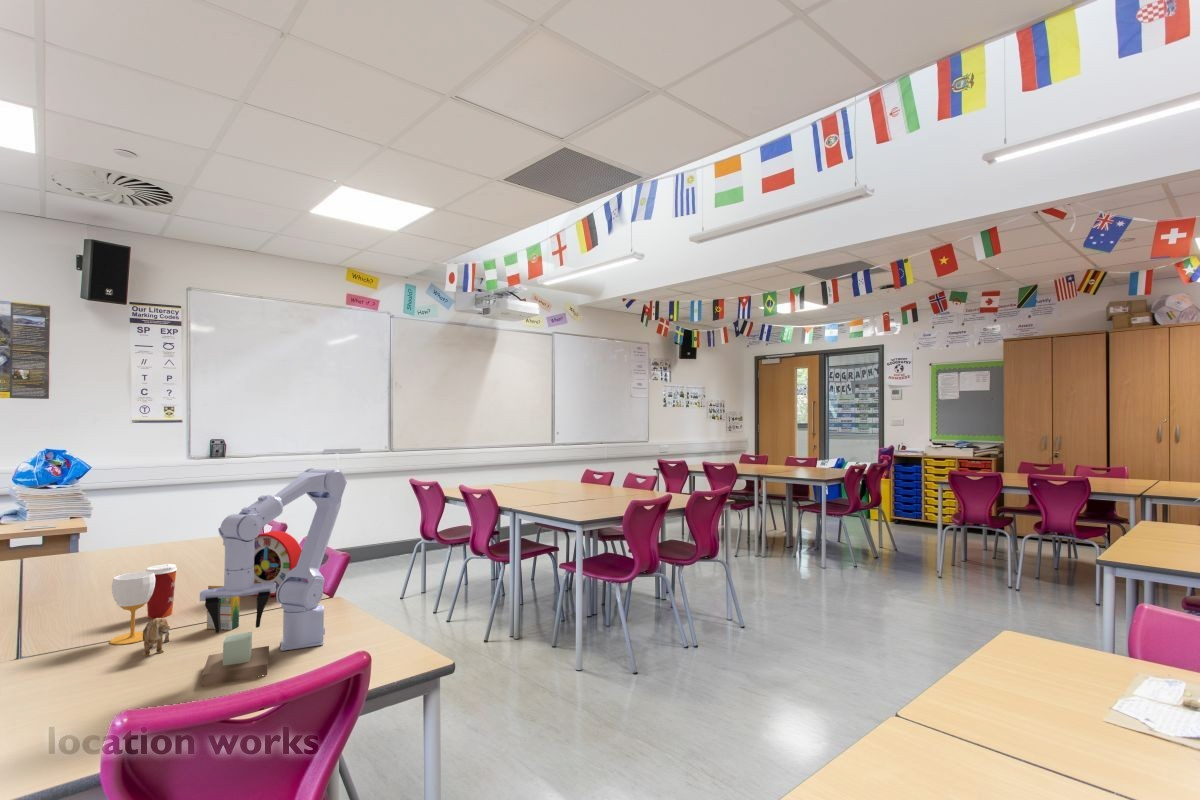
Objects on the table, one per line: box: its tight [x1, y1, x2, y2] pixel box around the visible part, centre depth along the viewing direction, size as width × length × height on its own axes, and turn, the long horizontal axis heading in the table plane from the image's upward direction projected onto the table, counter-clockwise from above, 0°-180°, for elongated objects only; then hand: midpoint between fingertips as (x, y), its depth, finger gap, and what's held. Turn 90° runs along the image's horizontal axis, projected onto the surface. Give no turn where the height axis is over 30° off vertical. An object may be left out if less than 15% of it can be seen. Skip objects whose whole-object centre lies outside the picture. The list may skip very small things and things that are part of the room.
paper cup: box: [145, 563, 178, 620], centre depth 170 cm, size 8×8×14 cm
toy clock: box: [254, 530, 303, 597], centre depth 191 cm, size 20×6×20 cm, turn 80°
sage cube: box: [222, 631, 253, 666], centre depth 132 cm, size 5×5×5 cm
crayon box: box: [206, 585, 240, 631], centre depth 159 cm, size 7×3×12 cm, turn 84°
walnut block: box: [201, 645, 270, 688], centre depth 132 cm, size 12×12×3 cm
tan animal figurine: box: [142, 617, 171, 657], centre depth 144 cm, size 15×5×9 cm, turn 36°
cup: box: [109, 571, 156, 646], centre depth 152 cm, size 9×9×16 cm
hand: (238, 628), depth 132 cm, fingers open, 7 cm apart
